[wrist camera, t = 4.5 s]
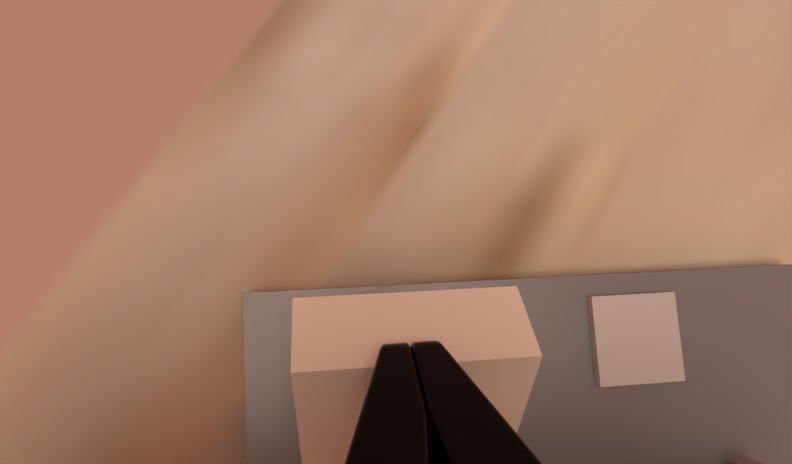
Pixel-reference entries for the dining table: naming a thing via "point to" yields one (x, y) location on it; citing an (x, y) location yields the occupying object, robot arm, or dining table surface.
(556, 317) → the switch unit
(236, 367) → the dining table surface
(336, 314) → the marked lever
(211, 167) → the dining table surface
